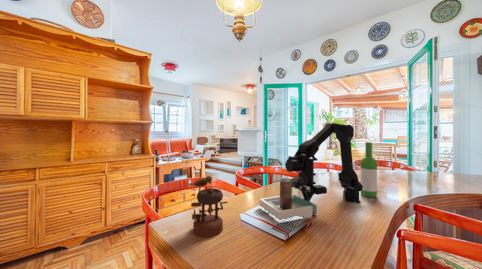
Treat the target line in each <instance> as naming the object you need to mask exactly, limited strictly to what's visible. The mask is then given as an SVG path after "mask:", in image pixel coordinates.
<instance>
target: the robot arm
mask: <svg viewBox="0 0 482 269" xmlns="http://www.w3.org/2000/svg"><path fill="white" fill-rule="evenodd" d="M354 132H355V129H354V126H353V125H352V124H339V123H336V122H331V123H330V122H329V123H326V124H325V126H324V127H323V128H322V129H321V130H319V131H318V132H317V133H316V134H315V135H314V136H313V137H312V138H310V139H308V140H306V141H303V142H302V143H300V144H299V145H298V149H297V151H296V152H295V154H294V156H288V157H287V159H286V161H285V163H284V165H285V166H284V167H285V169H286V171H287V172H289V173H292V172H293V173H294V172H298V173H297V174H298V175H297V176H294V177H293V178H290V179H291V182H292V188H294V189H297V190H299V191H300V192H301V195H302V198H303V199H305V200H307V201H309V202H311V200H312V198H313V196H314V195H325V194H328V188H327V187H326V186H324V185H321V184H316V183H317V182H316V181H315V179H314V176H316V175H317V174H316V172H315V171H314V170H315V168H314V167H315V166H314V163H315V161H316V162H317V161H318V158H317V157H316V156H315V155H316V154H317V152H319V150H320V146H322V144H323V143H324V142H326V140H328V138H329V137H331V135H332V134H334V135H335V138H336V139H337V141H338V142H339V147H340V148H339V149H340V156H341V158H340V159H341V171H340V172H338V174H337V176H338V181H339V184H340V187H341V188H343V190H342V199H343V200H344V201H345V202H347V203H359V204H360V203H362V201H361V200H360V192H361V190H362V189H363V186H362V184H361V181H359V177H358V174H357V173H356V171H355V169H354V163H353V153H352V140H353V139H354V134H355V133H354Z"/></svg>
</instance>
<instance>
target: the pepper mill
mask: <svg viewBox="0 0 482 269" xmlns="http://www.w3.org/2000/svg"><path fill="white" fill-rule="evenodd" d="M291 179H292V178H289V177H281V179H280V181H279V196H280V209H282V210H288V209H292V195H293V187H292V182H291Z"/></svg>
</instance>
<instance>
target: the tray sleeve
mask: <svg viewBox="0 0 482 269" xmlns="http://www.w3.org/2000/svg"><path fill="white" fill-rule="evenodd" d="M279 199H280V195H277V196H276V195H275V196H269V197H263V198H259V201H258V202H259V206H261V207H263V208H264V209H265V210H267V211H268V212H269V213H271V214H272V215H274V216H275V217H276V218H278V219H279V220H282V219H287V218H291V217H294V216H305V217H306V218H307V219H310V218H311V219H312V218H313V214H312V206H305V207H299V208H293V209H288V210H282V211H280V210H278V209H277V208H275V207H274V206H272V205H271V204H269V203H268V202H267V201H272V200H279ZM259 206H258V207H259Z"/></svg>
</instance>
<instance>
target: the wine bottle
mask: <svg viewBox="0 0 482 269" xmlns="http://www.w3.org/2000/svg"><path fill="white" fill-rule="evenodd" d="M360 183H361V184H362V186H363V189H362V190H361V191H360V195H361V196H363V197H366V198H376V197H377V196H378V162H377V160H376V159H375V158H374V157H373V143H372V142H367V141H366V142H365V156H364V157H363V158H361V160H360Z"/></svg>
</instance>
